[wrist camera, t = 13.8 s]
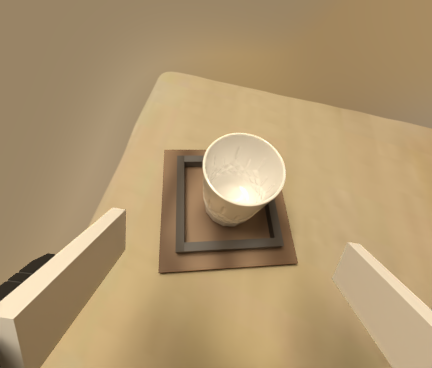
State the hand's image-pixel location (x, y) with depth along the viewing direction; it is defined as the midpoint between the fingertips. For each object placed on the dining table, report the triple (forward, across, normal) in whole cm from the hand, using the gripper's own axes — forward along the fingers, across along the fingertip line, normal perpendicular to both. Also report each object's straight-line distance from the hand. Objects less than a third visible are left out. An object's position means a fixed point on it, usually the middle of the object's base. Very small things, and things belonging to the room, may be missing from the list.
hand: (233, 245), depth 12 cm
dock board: (+16, 0, -4) cm, 17 cm away
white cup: (+15, +1, -4) cm, 16 cm away
